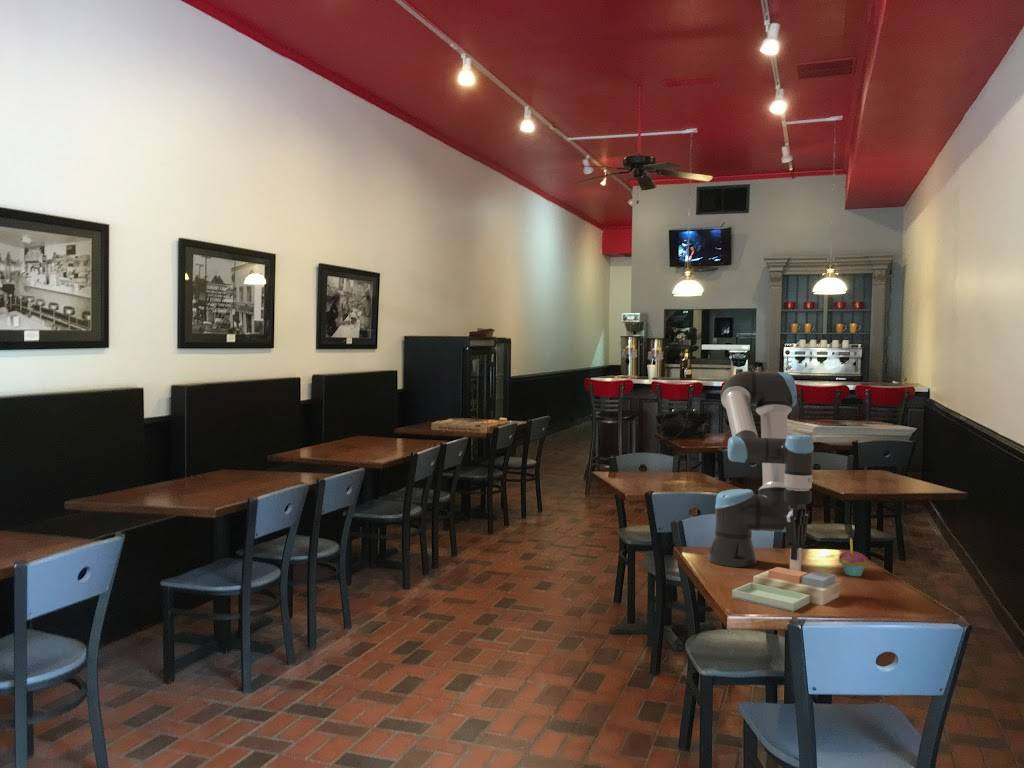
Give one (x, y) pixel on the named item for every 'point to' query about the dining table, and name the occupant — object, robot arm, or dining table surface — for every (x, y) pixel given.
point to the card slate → (818, 579)
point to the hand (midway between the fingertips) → (795, 570)
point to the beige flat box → (801, 588)
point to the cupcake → (853, 562)
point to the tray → (771, 596)
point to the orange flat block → (786, 574)
